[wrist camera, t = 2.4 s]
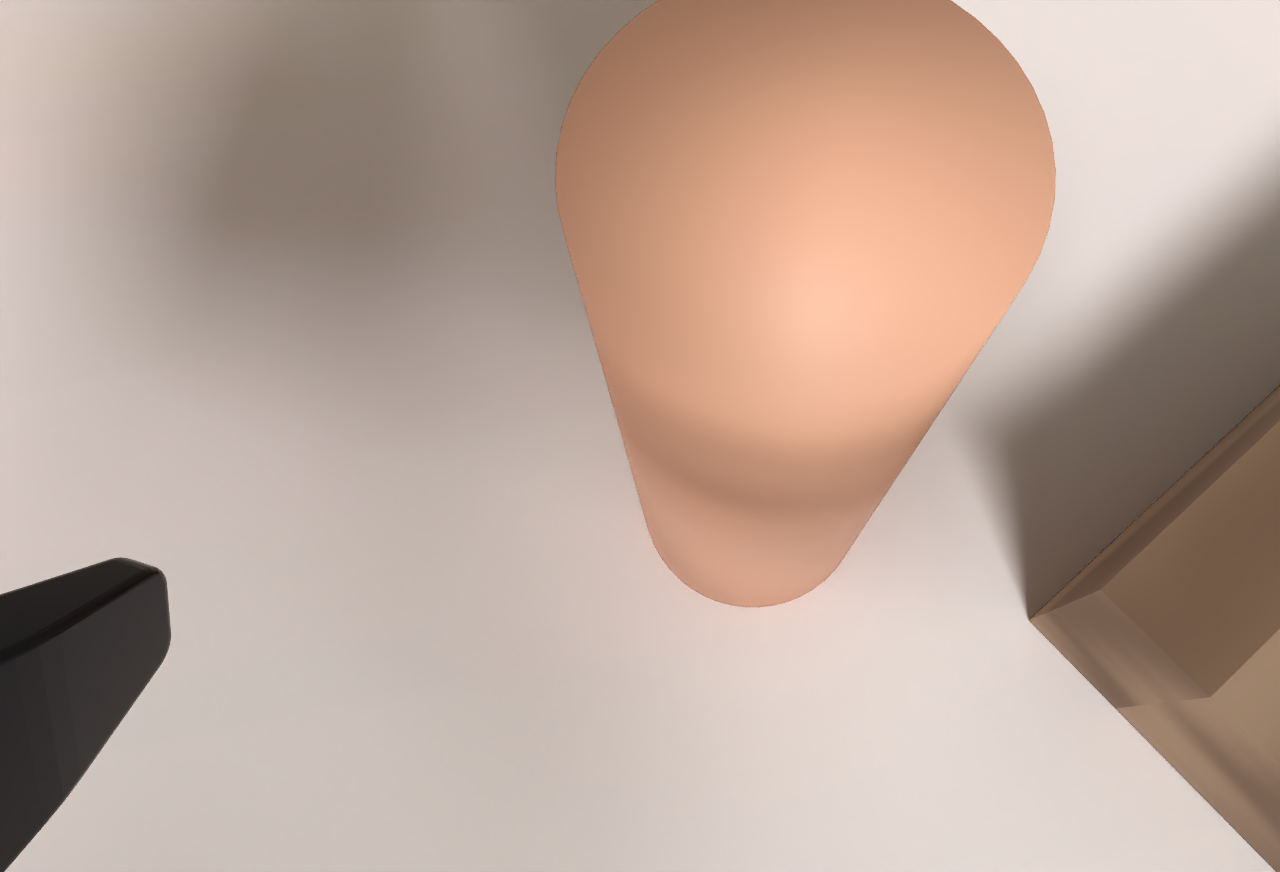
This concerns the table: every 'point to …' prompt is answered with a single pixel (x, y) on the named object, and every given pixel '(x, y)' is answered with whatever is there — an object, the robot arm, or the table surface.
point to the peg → (793, 260)
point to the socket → (1196, 626)
